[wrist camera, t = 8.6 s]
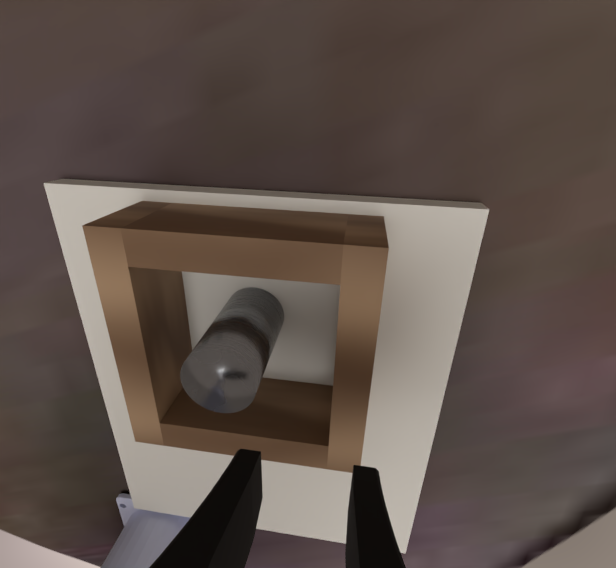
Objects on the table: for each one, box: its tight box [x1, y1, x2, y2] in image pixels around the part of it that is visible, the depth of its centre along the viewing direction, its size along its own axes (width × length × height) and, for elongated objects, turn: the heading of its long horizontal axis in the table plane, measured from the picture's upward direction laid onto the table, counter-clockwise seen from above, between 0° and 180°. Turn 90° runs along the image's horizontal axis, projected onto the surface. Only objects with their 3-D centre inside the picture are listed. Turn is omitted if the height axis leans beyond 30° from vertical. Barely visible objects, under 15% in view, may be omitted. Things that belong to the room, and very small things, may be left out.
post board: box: [44, 179, 489, 553], centre depth 20 cm, size 24×20×6 cm
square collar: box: [82, 201, 389, 473], centre depth 17 cm, size 11×11×4 cm
